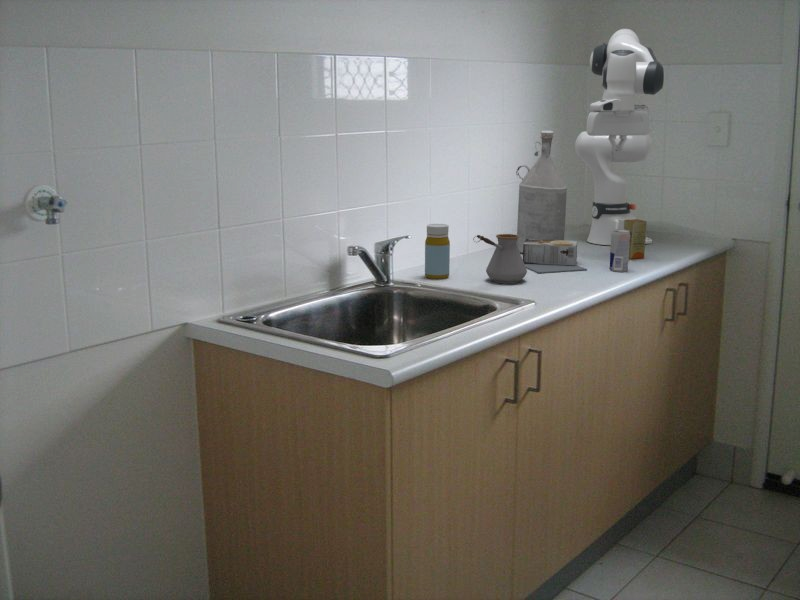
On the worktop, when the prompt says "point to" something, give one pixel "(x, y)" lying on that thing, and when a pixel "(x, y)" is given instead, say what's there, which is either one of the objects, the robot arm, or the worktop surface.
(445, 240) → the bottle
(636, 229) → the shoe polish box
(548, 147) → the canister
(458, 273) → the worktop surface
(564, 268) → the mat
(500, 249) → the coffee pot
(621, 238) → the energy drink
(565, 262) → the coffee box
